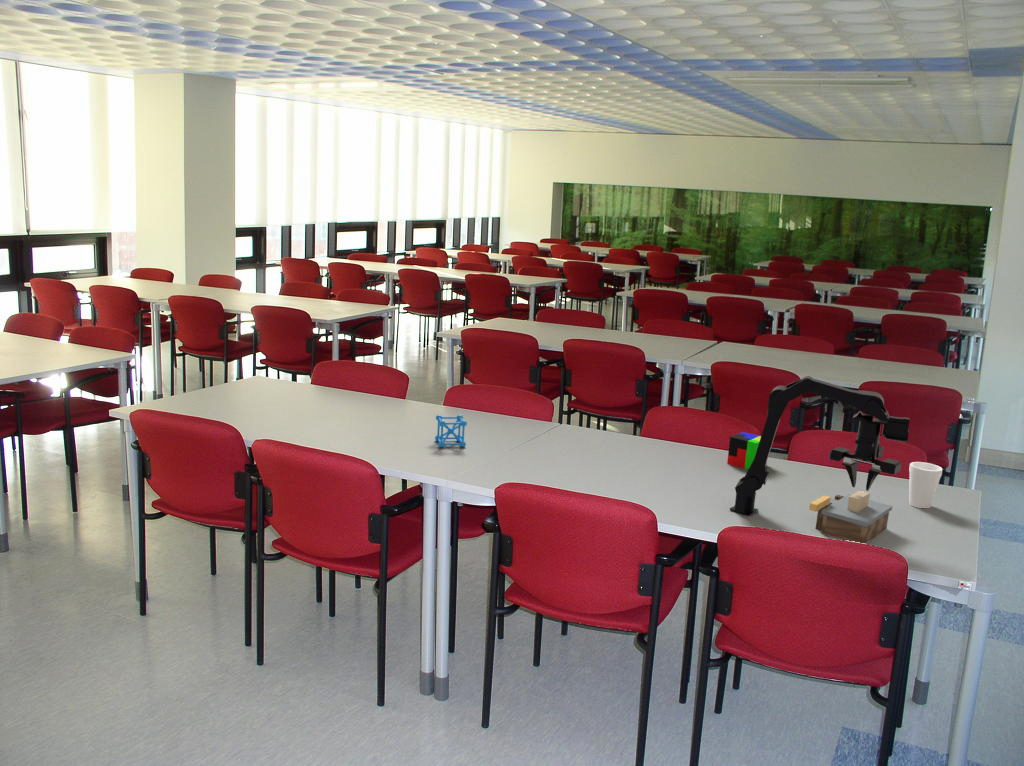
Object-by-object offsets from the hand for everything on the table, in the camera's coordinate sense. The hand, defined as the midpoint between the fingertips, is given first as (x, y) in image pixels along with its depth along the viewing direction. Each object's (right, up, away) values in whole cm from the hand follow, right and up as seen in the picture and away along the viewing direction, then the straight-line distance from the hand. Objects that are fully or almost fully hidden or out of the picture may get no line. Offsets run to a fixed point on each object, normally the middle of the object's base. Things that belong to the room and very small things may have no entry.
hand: (860, 488), depth 260 cm
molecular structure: (-123, +8, +65) cm, 139 cm away
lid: (-2, -7, +3) cm, 7 cm away
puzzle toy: (-17, +1, +62) cm, 64 cm away
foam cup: (+30, -9, +29) cm, 43 cm away
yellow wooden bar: (-12, -5, 0) cm, 13 cm away
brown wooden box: (-2, -12, +4) cm, 13 cm away
